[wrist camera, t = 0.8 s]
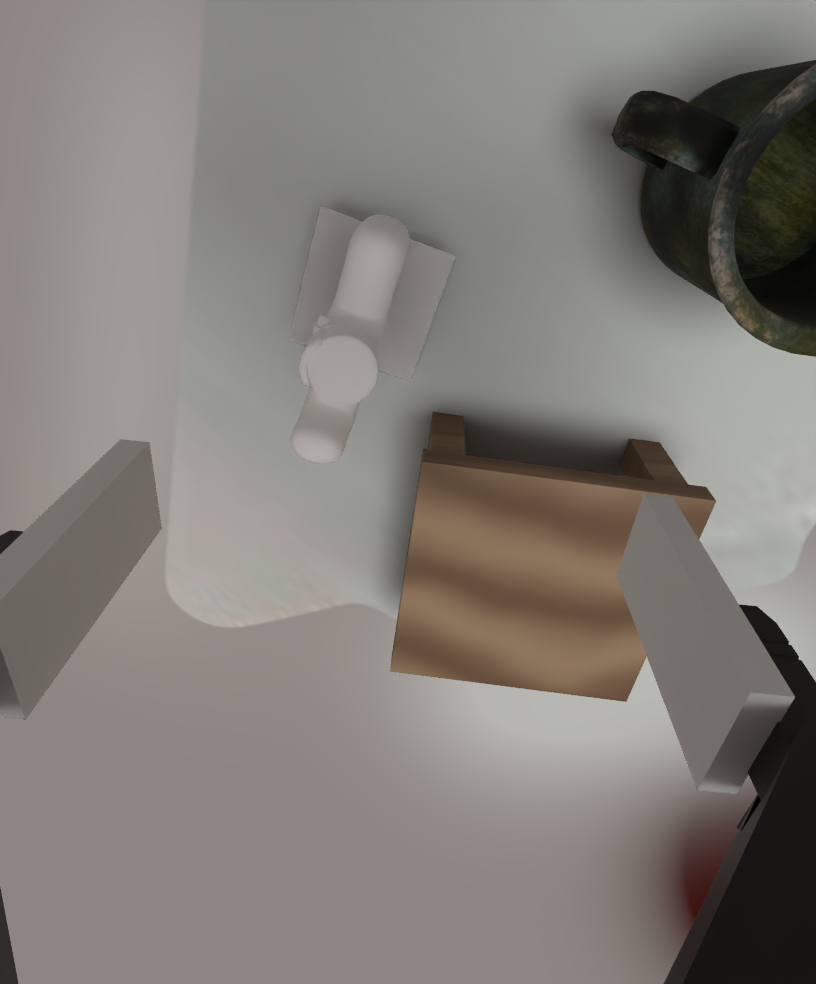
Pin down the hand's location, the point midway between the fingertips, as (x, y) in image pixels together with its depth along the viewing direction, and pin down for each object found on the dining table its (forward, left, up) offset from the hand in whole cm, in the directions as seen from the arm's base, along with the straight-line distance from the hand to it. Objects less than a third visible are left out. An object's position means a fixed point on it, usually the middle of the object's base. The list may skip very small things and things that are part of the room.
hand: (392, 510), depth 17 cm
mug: (-9, +14, -23) cm, 29 cm away
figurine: (-1, -3, -23) cm, 23 cm away
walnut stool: (+14, +9, -23) cm, 29 cm away
